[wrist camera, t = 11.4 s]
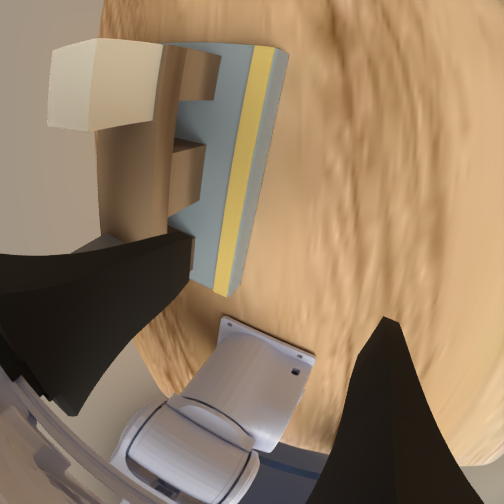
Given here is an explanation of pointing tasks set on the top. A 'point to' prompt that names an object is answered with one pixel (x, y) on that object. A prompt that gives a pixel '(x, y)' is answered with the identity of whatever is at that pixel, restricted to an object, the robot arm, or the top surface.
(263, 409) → the robot arm
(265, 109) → the dock
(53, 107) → the cream block
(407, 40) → the top surface
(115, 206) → the brown piece
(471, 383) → the top surface
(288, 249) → the top surface
